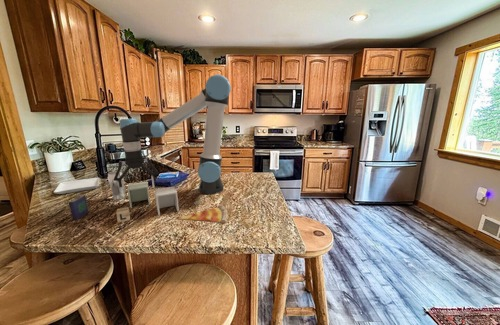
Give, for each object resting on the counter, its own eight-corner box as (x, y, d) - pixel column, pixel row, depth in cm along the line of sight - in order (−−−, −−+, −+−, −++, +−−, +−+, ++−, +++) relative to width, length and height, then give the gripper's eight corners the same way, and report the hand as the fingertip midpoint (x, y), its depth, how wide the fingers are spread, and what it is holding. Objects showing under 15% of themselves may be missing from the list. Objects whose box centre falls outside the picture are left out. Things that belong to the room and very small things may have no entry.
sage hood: (130, 201, 109) (128, 184, 107) (149, 198, 113) (147, 181, 111) (130, 208, 101) (127, 189, 99) (150, 204, 105) (147, 186, 103)
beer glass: (119, 201, 110) (114, 174, 107) (108, 200, 111) (103, 174, 108) (129, 196, 117) (125, 171, 113) (118, 195, 118) (114, 170, 115)
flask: (84, 211, 98) (80, 190, 96) (91, 211, 98) (87, 190, 96) (70, 221, 89) (65, 198, 87) (78, 220, 89) (73, 198, 87)
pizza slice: (193, 205, 105) (193, 201, 105) (234, 208, 101) (234, 204, 101) (178, 220, 90) (177, 216, 90) (226, 224, 86) (225, 219, 86)
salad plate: (99, 189, 129) (98, 184, 128) (54, 197, 117) (52, 191, 116) (100, 181, 146) (99, 176, 145) (60, 187, 134) (59, 182, 133)
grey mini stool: (156, 208, 101) (154, 189, 98) (175, 204, 105) (173, 186, 103) (158, 215, 93) (156, 195, 91) (178, 211, 97) (177, 191, 95)
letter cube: (118, 218, 91) (117, 209, 90) (130, 215, 93) (128, 207, 92) (117, 222, 87) (116, 213, 86) (129, 220, 90) (128, 210, 89)
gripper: (101, 154, 92) (110, 197, 96) (160, 148, 103) (165, 187, 108) (103, 151, 98) (111, 192, 103) (159, 146, 110) (164, 183, 115)
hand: (139, 190), depth 106 cm, fingers open, 13 cm apart
